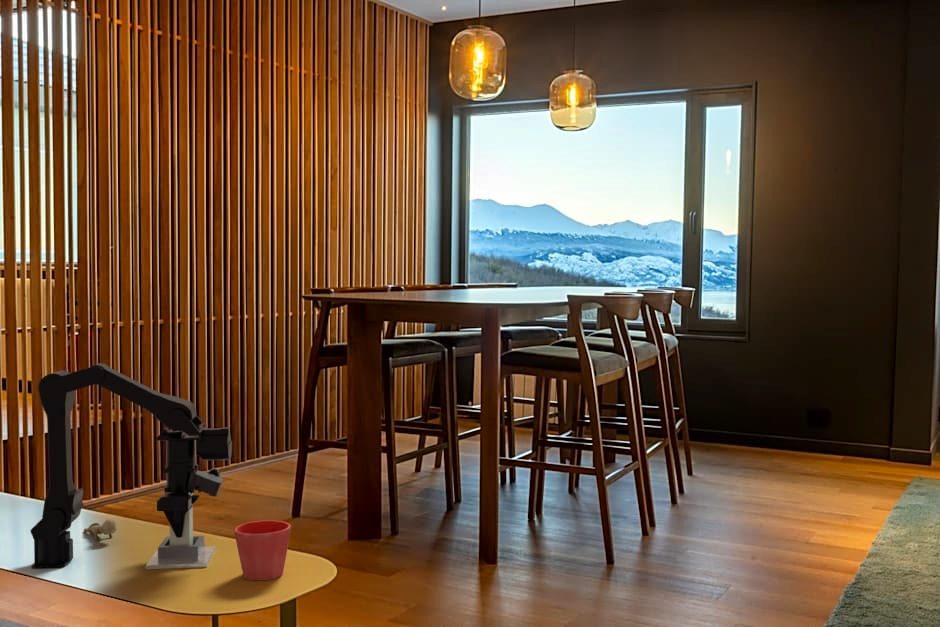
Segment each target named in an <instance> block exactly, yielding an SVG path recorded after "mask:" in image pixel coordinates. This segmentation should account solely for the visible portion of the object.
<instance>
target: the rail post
mask: <svg viewBox="0 0 940 627" xmlns="http://www.w3.org/2000/svg"><path fill="white" fill-rule="evenodd" d="M191 505H193V506H192V508H191V509H190V510H189V511H188V512H187V513H186V517H185V523H184V529H183V535H182V537H181V538H177V537H176V535H175V533H174V531H173V529H172V527H171V525H170V524H169V537H170V546H180V545H193V536H194V516H193V515H194V508H193V507H194V503H193V504H191Z"/></svg>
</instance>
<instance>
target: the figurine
mask: <svg viewBox="0 0 940 627" xmlns="http://www.w3.org/2000/svg"><path fill="white" fill-rule="evenodd" d="M116 531H117V523H116V521H115V520H114V519H113V518H107V519H106V520H105V521H104V522H103V523H102V524H99V523H98V522H96V523H95V522H94V523H92V524H90V525H89V526H88V527H87V528H84V529H83V532H84V533H88V532H89V533H90V532H92V533H94V536H95V541H96V542H97V541H99V536H98V535H102V534H104V535H106V536H107V535H108V537H109V538H110V539H112V538H113V535H112V534H114V533H116Z"/></svg>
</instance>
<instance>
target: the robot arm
mask: <svg viewBox="0 0 940 627" xmlns="http://www.w3.org/2000/svg"><path fill="white" fill-rule="evenodd" d="M93 385H97V386H99V387H101V388H103V389H104V390H107V391H110V392H111V393H113V394H115V395H117V396H119V397H120V398H123V399H125V400H126V401H129V402H130V403H133V404H135V405H137V406H139V407H141V408H143V409H145V410H146V411H148V412H149V413H151V414H152V415H153V417H155V419H156V420H158V421H159V422H160V423H162V424H163V425H165V426H166V427H164V428H163V429H162V431H161V432H160V434H159V435H158V436H156V438H155V440H156V441H161V442H162V441H164V442H166V443H165V444H166V445H165V449H166V450H165V452H166V453H165V455H166V456H165V457H166V458H165V459H166V462H165V463H166V464H165V465H166V466H165V467H164V472H163V473H165V474H166V485H165V487H164V493H163V494H162V495H161V497H159V498H158V499H157V501H156V511H157V512H163V513H164V516H165V517H166V519H167V522H168V523H169V526H170V525H171V527H172V529H173V531H174V533H175V535H176V537H177V538H181V537H182V535H183V529H184V523H185V517H186V513H187V512H188V511H189V510H190V509H191V508H192V506H193V507H194V504H195V503H196V501H198V499H199V498H200V495H199V494H201V493H205V494H207V495H208V496H211V497H217V496H218V494H219V493H220V490H221V487H222V484H223V482H224V478H223V476H221V475H220V474H221V473H220V469H218V468H215V467H212V468H211V469H210V470H209V471H208V472H207V470H206V471H203V470H199V464H197V462H196V459H195V458H196V456H198V457H199V458H201V460H202V461H230V460H231V458H232V451H233V441H232V437H231V430H230V427H229V426H226V427H225V426H224V427H219V428H208V427H207V426H206V425H205V424H204V423H203V421H202V419H200V417H199V416H198V415H197V408H196V406H195V405H194V403H193V402H192V401H190V400H188V399H184V398H181V397H178V396H175V395H171V394H166V393H161V392H159V391H157V390H155V389H153V388H151V387H149V386H147V385H144V384H143V383H141V382H139V381H137V380H135V379H134V378H133V379H132V378H131V377H129V376H127V375H126V374H123V373H122V372H118V371H117V370H115V369H113V368H111V367H110V366H109V365H108V364H107V363H101V362H100V363H96V364H93V365H90V367H89V366H88V367H86V368H83V369H80V370H76V371H72V372H70V371H67V370H57V371H53V372H51V373H48V374H46V375H44V376H43V377H42V378H41V379H40V380H39V382H38V386H37V390H38V396H39V400H40V404H41V407H42V409H43V411H44V413H45V415H46V419H47V420H46V422H47V453H48V454H47V455H48V456H47V457H48V480H49V484H48V489H47V492H46V496H45V499H44V502H43V503H44V504H43V509H42V516H41V519H40V520H39V521H38V522H36V524H35V525H34V526H33V527H32V528H31V529H30V533H31V536H32V538H33V543H34V544H33V550H34V551H33V552H34V554H33V555H34V557H33V558H34V562H33V563H32V564H31V569H32V568H33V569H36V568H37V569H39V568H41V569H43V568H63V567H66V565H68V564H69V563H70V562H71V561H72V560H73V559H74V540H73V538H71V531H70V530H69V529H70V528H71V526H72V524H73V522H74V521H75V520H77V519H78V517H79V516H80V515H81V511H82V510H83V508H84V507H85V504H84V502H83V495H84V488H81V487H80V488H78V489H77V488H76V486H75V484H74V480H73V461H72V460H73V458H72V451H73V450H72V426H71V424H72V423H71V422H72V421H71V418H72V417H71V416H72V411H73V406H74V404H75V400H76V394H77V390H80V389H83V388H86V387H90V386H93ZM195 441H196V442H195ZM195 445H196V446H195ZM195 447H196V448H195ZM195 454H196V455H195ZM195 491H197V493H199V494H197V495H196V494H195V495H194V493H195ZM191 504H193V505H191Z"/></svg>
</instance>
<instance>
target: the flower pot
mask: <svg viewBox="0 0 940 627" xmlns="http://www.w3.org/2000/svg"><path fill="white" fill-rule="evenodd" d="M291 526H292V525H291V524H290V523H289V522H285V521H282V520H270V519H269V520H268V519H267V520H255V521H249V522H245V523H243V524H239V525H238V526H236V527H235V528H234V536H235V542H236V547H237V552H238V557H239V561H240V566H241V571H242V574H243V578H245V579H247V580H251V581H258V580H259V581H268V580H273V579H277V578H279V577H281V576H282V575H283V574H284V570H285V565H286V558H287V553H288V548H289V543H290V542H289V541H290V536H291V535H290V534H291V529H292V528H291Z"/></svg>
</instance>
